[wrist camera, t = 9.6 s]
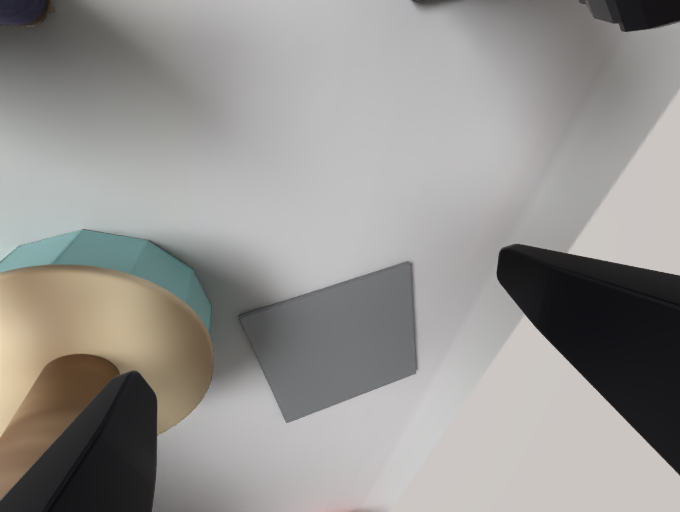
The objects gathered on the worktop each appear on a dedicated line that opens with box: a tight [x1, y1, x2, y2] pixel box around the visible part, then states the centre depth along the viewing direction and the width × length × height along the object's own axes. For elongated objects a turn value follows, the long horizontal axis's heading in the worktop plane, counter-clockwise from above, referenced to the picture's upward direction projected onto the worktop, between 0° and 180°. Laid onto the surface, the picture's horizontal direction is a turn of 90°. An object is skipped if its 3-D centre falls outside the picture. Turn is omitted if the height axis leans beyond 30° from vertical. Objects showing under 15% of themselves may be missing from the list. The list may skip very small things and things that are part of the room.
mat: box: [239, 262, 416, 423], centre depth 27 cm, size 13×13×1 cm
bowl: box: [0, 229, 211, 333], centre depth 18 cm, size 11×11×4 cm
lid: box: [0, 264, 213, 500], centre depth 14 cm, size 12×12×7 cm
